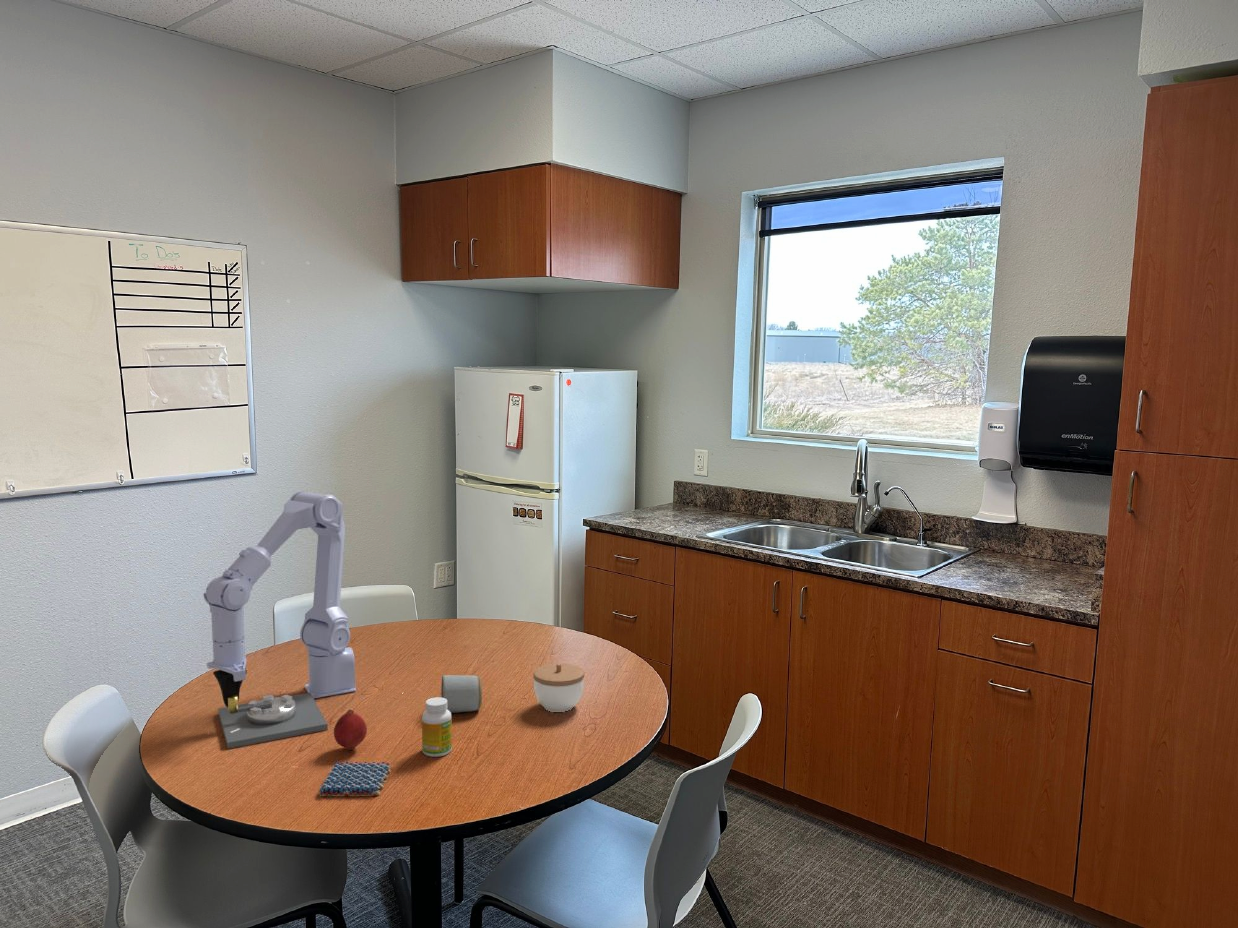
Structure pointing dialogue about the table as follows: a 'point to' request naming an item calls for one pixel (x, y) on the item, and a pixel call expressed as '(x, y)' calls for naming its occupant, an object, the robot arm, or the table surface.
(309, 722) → the base plate
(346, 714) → the onion
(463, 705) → the ceramic mug
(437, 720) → the supplement bottle
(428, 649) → the table surface
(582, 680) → the lidded jar
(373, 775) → the woven mat
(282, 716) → the lathe jaw chuck
